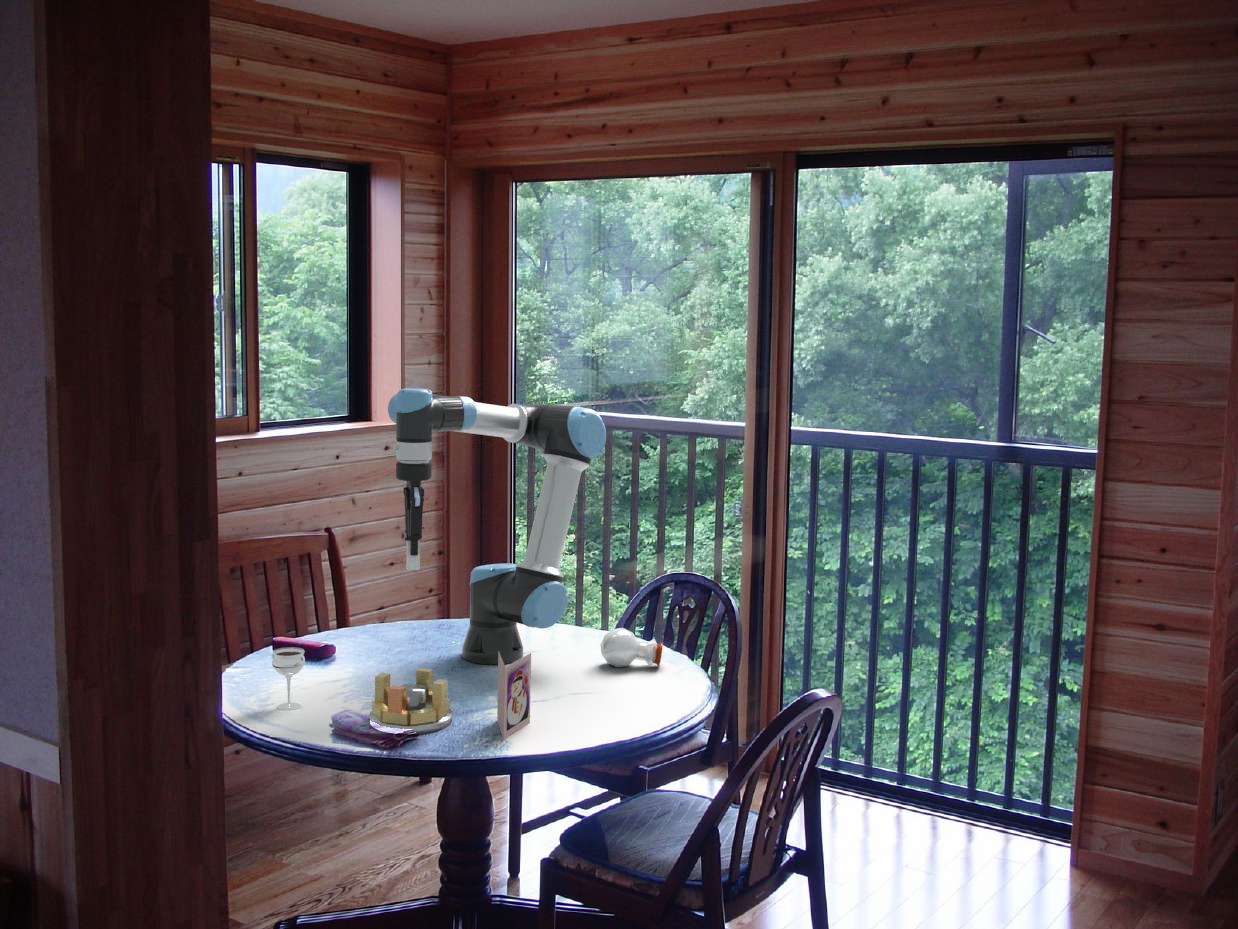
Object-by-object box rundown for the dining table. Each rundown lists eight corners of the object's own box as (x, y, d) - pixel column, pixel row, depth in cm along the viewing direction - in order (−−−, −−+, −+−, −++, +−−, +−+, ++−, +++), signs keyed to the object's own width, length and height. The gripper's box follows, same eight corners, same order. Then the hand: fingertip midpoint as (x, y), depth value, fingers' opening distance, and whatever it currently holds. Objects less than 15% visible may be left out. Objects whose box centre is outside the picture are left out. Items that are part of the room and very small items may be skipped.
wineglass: (287, 713, 251) (287, 658, 250) (265, 707, 255) (265, 652, 253) (311, 705, 257) (311, 651, 255) (289, 699, 260) (289, 645, 259)
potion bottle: (596, 669, 294) (656, 678, 294) (598, 655, 285) (660, 665, 285) (602, 634, 298) (661, 643, 298) (604, 619, 290) (665, 629, 290)
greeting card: (507, 740, 239) (508, 667, 237) (475, 734, 242) (476, 662, 240) (533, 723, 249) (534, 653, 248) (502, 717, 252) (503, 648, 250)
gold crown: (394, 697, 258) (394, 664, 257) (458, 705, 254) (459, 672, 253) (361, 719, 243) (361, 685, 242) (428, 728, 239) (429, 693, 238)
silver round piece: (445, 705, 259) (445, 673, 258) (458, 731, 243) (458, 698, 242) (365, 710, 254) (365, 678, 253) (373, 738, 238) (373, 704, 237)
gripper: (392, 457, 260) (392, 563, 263) (400, 465, 248) (399, 576, 251) (426, 457, 262) (426, 562, 265) (436, 464, 250) (435, 575, 253)
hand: (413, 569), depth 258 cm, fingers closed
